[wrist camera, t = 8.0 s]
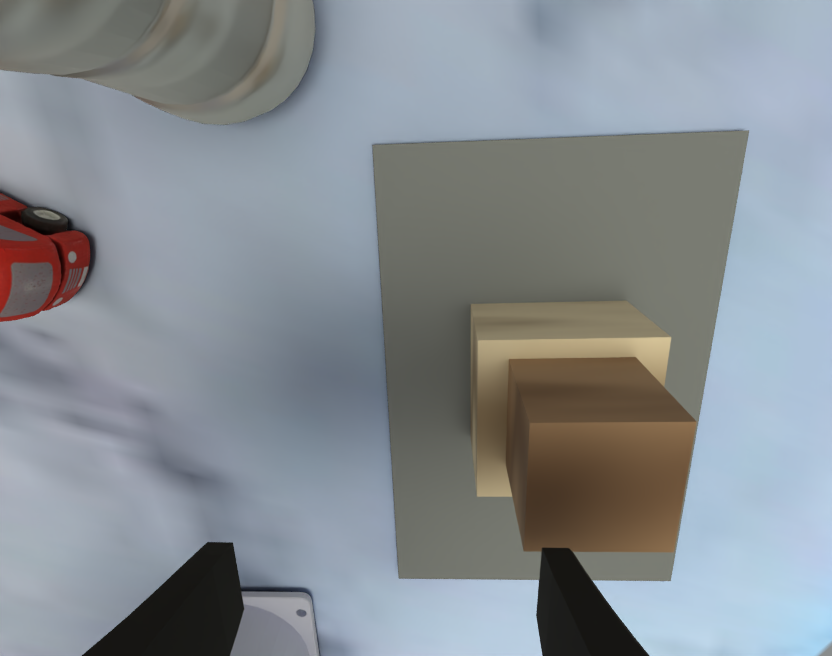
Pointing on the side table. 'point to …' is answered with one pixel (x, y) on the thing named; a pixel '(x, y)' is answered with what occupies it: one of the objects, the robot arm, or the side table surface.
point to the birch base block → (544, 338)
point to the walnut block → (595, 455)
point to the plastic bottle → (168, 50)
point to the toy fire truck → (38, 260)
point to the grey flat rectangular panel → (529, 283)
